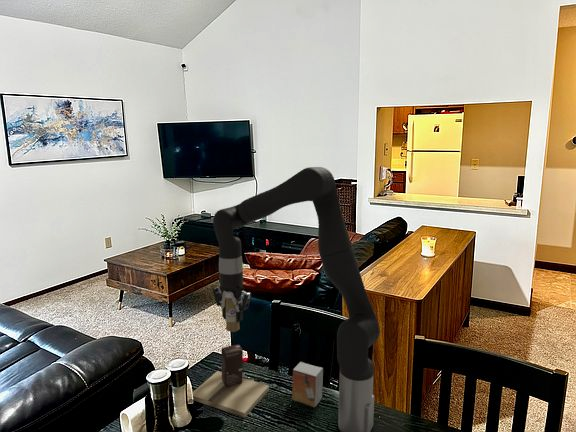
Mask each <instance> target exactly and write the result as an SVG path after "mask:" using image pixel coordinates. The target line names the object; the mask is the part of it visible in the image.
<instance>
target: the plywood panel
mask: <svg viewBox="0 0 576 432" xmlns="http://www.w3.org/2000/svg"><path fill="white" fill-rule="evenodd" d="M269 391H270V385H267V384H264V383H261V382H258V381H254V380H251V379H247V378H243V377H242V383H239V384H235V385H231V386H227V387H225V385H224V384H223V382H222V371H219V370H216V371H215V372H214V373H213V374H212V375H211V376H210V377H208V378H207V379H206V380H205V381H204V382H203V383H201V385H199V386H198V387H197V388H196V389H195V390H194V391H192V392H193V398H194V400H193V401H194V402H198V403H201V404H203V405H206V406H208V407H209V406H210V407H213V408H216V409H218V410H221V411H225V412H227V413H230V414H233V415H237V416H239V417H241V418H246V417H247V416H248V415H249V414H250V413H251V411H252V410H253V409H254V408H255V406H257V404H258V403H260V401H261V400H262V399H263V398H264V397H265V396H266V394H267V393H268V392H269Z"/></svg>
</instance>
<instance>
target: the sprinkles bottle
mask: <svg viewBox="0 0 576 432" xmlns="http://www.w3.org/2000/svg"><path fill="white" fill-rule="evenodd" d="M225 297H226V319H225V324H226V325H225V326H226V327H225V330H226V331H227V332H230V333H235V332H237V331H239V330H240V328H241V327H240V322H236V308H235V305H234V304H233V301H232V298H233V297H231V293H230V291H227V292H226V296H225ZM237 301H239V299H238V300H237Z"/></svg>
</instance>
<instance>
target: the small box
mask: <svg viewBox="0 0 576 432" xmlns="http://www.w3.org/2000/svg"><path fill="white" fill-rule="evenodd" d="M323 376H324V368H323V367H321V366H316V365H312V364H310V363H305V362H304V361H299V363H297V365H296V366H295V367H294V368H293V369H292V392H291V393H292V394H291V395H292V396H291V397H292V398H291V399H292V401H295V402H299V403H302V404H304V405H307V406H310V407H312V408H316V407H317V406H318V404H319V402H321V400H322V399H323V380H324V379H323V378H324V377H323Z"/></svg>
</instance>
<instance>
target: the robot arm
mask: <svg viewBox="0 0 576 432" xmlns="http://www.w3.org/2000/svg"><path fill="white" fill-rule="evenodd" d="M305 202H312V204H313V207H314V209H315V213H316V216H317V221H318V222H317V223H318V235H317V237H318V238H317V246H318V254H319V257H320V260H321V264H322V267H323V268H322V269H323V270H324V273H325V275H326V277H327V278H328V279H329V281H330V282H331V283H332V284H333V286H334V287H335V288H336V289H337V290H338V291H339V293H340V295H341V296H342V297H343V301H344V304H345V307H346V309H347V314H348V318H347V319H345V320H344V321H342V322H341V323H340V325H339V326H338V328H337V333H336V358H337V362H338V365H339V383H338V384H339V385H338V390H339V391H338V412H337V413H338V414H337V415H338V418H337V420H338V422H337V427H338V429H339V431H340V432H371V431H372V428H373V427H374V416H375V415H374V414H375V413H374V411H375V395H374V376H375V375H374V374H375V373H374V372H375V365H374V362H373V360H372V359H370V358H369V348H370V347H372V346H373V345H374V344H375V343H376V342H377V341H378V339H379V337H380V333H381V330H380V324H379V321H378V318H377V316H376V313H375V310H374V308H373V306H372V303H371V301H370V299H369V297H368V294H367V291H366V288H365V284H364V281H363V278H362V275H361V272H360V269H359V265H358V261H357V257H356V254H355V251H354V248H353V244H352V242H351V239H350V236H349V233H348V229H347V226H346V222H345V219H344V217H343V213H342V210H341V204H340V199H339V194H338V190H337V184H336V180H335V177H334V176H333V174H332V172H331V171H330V170H328V168H326V167H323V166H322V167H321V166H310V167H306V168H305V167H304V168H303V169H301V170H300V171H298V172H297V173H296V174H294V175H292V176H291V177H289V178H288V179H287V180H285V181H283V182H282V183H280V184H279V185H277V186H274V187H273V188H270V189H269V190H265V191H263V192H260V193H258V194H255V195H254V196H251V197H248V198H246V199H245V200H243V201H241V202H240V203H239V204H236V205H233V206H230V207H226V208H222V209H218V210H217V211H216V212H215V214H214V216H213V219H212V220H213V222H212V224H213V225H212V226H213V229H214V233H215V236H216V240H217V243H218V254H219V255H218V256H219V258H218V275H219V276H218V277H219V281H218V282H219V286H215V287H213V288H212V293H213V297H214V301H215V304H216V306H218V307H220V308H221V310H222V311H221V315H222V318H223V320H226V297H225V296H226V292H227V291H230V293H231V297H233V298H232V301H233V304H234V305H235V308H236V322H239V323H240V322H241V321H243V320H244V319H243V318H244V311H246V310H247V309H249V305H250V302H251V298H252V292H251V291H249V292H247V291H245V289H244V286H243V284H244V267H243V264H244V263H243V256H242V241H241V239H240V238H239V237H237V236H235V235H234V230H237V229H239V228H241V227H244V226H247V225H248V224H250V223H253V222H256V221H258V220H262V219H264V218H266V217H268V216H270V215H272V214H274V213H276V212H277V211H279V210H281V209H283V208H285V207H287V206H291V205H294V204H298V203H305ZM238 299H239V301H237V300H238Z"/></svg>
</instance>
